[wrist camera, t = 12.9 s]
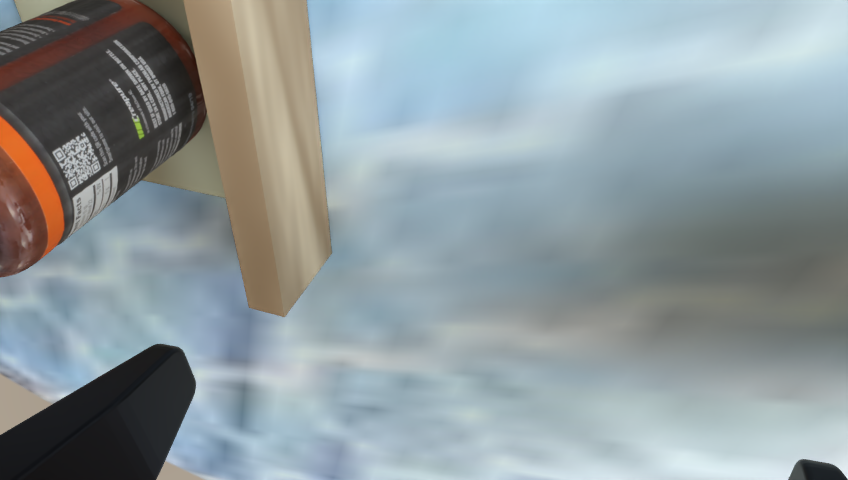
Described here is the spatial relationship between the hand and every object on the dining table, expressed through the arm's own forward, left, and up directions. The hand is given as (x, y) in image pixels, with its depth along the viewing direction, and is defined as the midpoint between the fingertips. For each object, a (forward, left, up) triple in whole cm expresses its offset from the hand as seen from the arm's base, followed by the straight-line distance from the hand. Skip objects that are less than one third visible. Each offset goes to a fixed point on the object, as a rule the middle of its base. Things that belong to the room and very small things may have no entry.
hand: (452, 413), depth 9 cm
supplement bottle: (+13, +9, -13) cm, 20 cm away
